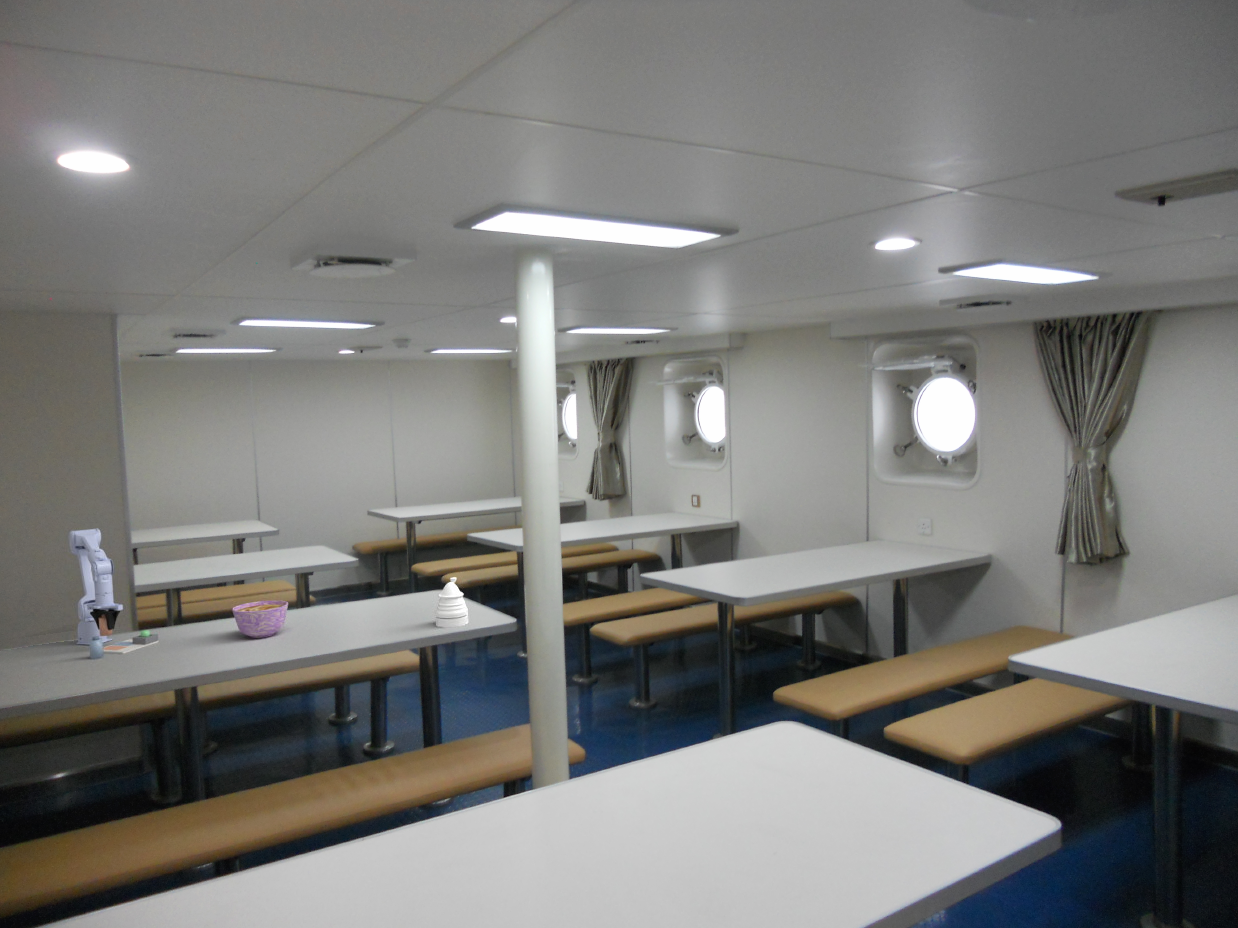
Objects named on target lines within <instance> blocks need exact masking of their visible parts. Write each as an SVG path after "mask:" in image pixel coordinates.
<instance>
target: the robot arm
mask: <svg viewBox="0 0 1238 928" xmlns="http://www.w3.org/2000/svg"><path fill="white" fill-rule="evenodd" d="M101 542H102V533H101V530H100V529H99V528H97V527H96V528H93V529H92V528H90V529H80V530H70V532H69V533H68V543H69V549H70V552H71V555H72V554H73V555H76V556H77V560H78V563H79V569H80V575H81V581H82V588H83V593H84V595H83V596H82V597H81V598H80V599H79V600H78V601H77V615H78V618H79V620H80V621H79V622H78V624H77V631H76V632H77V642H76V643H75V644H76V645H88V646H90V645H89V640H92V637H95V636H99V638H102V640H103V644H104V643H106V642H110V641H112V640H113V638H111V637H109V638H108V636H100V630H99V618H100V617H102V615H103V614H104V615H105V617H106V621H107V628H108V630H112V631H113V630H114V629H115V626H116V622H117V620H118V616H119V614H120V613H121V611H122V610H124V606H123V604H120V603H115V602H114V600H115V599H114V586H113V585H114V584H113V575H114V574H115V573H114V572H115V567H114V562H113V559H111V558H108V557H107V554H106V553H105V551H104V549H102V548H100V546H101Z"/></svg>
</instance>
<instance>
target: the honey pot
mask: <svg viewBox="0 0 1238 928" xmlns="http://www.w3.org/2000/svg"><path fill="white" fill-rule="evenodd" d="M449 579H450V581H449V582H447V583H446V584H445V586H444V587H443V589H442V591H441V592H440V593H439V594H438V595H437V597H438V598H439V600H438V601H437V606H436V609H435V611H434V612H435V615H434V616H435V627H438V628H457V626H459V627H463V626H466V625H468V624H469V609H468V607H467V605H466V601H465V600H464V593H463V592H462V591H461V590H460V589H459V587H458V585H456V582H457V577H456V576H455V577H449ZM465 624H466V625H465ZM462 625H463V626H462Z"/></svg>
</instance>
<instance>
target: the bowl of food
mask: <svg viewBox="0 0 1238 928" xmlns="http://www.w3.org/2000/svg"><path fill="white" fill-rule="evenodd" d="M288 606H289V602H288V601H285V600H260V601H252V602H248V603H242V604H239V605H237V606H234V607H232V613H233V616H234V619H235V623H236V625H237V628H238V630H239V631H240V632H241V634H243V635H246V636H248V637H250V638H251V639H261V638H267V637H271V636H273V635H274V633H277V632H279V630H281V629H282V628H283V626H284V625H285V622H286V619H287V618H286V617H287V611H288Z"/></svg>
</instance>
